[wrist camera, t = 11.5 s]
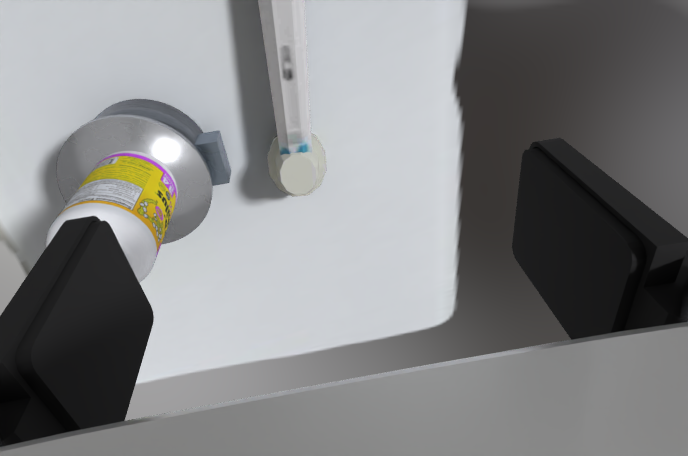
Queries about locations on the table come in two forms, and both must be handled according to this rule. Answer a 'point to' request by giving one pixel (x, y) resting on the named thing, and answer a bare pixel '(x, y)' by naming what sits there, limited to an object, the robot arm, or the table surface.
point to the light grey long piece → (290, 99)
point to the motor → (157, 141)
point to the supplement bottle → (127, 204)
